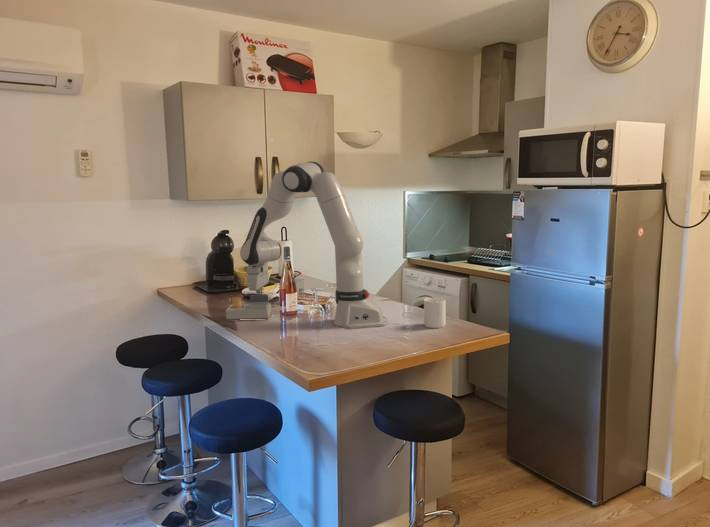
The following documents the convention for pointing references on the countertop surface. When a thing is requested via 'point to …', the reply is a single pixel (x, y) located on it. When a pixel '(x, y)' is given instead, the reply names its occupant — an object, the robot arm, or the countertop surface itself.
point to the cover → (258, 300)
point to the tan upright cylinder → (237, 302)
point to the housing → (248, 312)
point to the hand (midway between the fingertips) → (259, 296)
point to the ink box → (300, 285)
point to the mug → (434, 312)
